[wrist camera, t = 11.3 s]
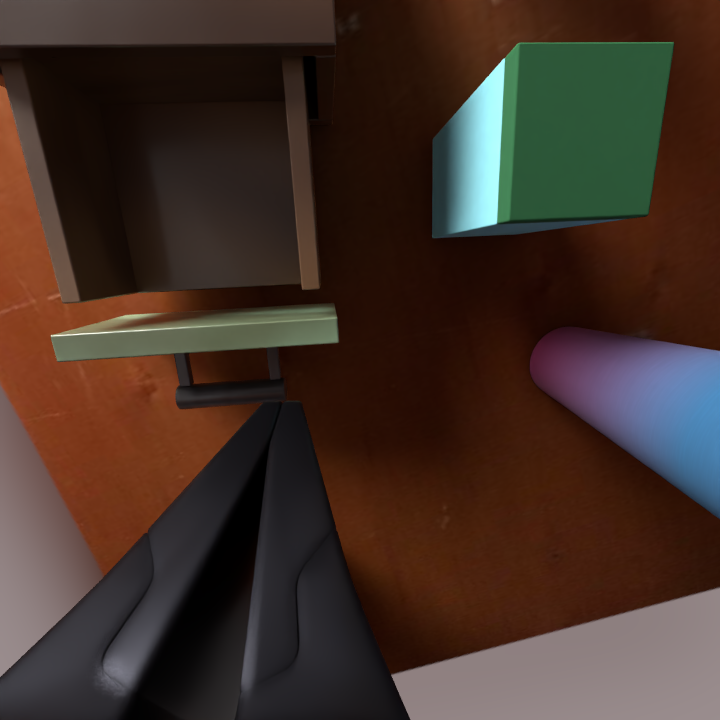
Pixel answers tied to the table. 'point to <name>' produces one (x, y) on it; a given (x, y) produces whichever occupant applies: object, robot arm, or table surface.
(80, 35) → the cabinet
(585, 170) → the sponge
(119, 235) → the drawer
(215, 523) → the robot arm
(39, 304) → the table surface
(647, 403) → the cup
